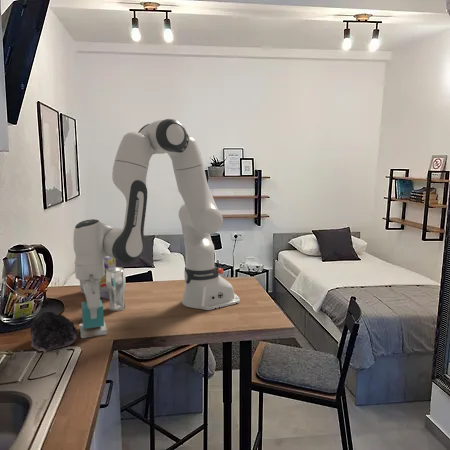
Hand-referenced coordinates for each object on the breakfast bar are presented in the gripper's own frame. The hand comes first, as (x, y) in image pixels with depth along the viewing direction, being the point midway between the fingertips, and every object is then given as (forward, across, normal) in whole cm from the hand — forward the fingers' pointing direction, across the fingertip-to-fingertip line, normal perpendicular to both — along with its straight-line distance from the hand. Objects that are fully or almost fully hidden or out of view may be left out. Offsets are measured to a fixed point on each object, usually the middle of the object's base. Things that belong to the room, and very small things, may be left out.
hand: (92, 312), depth 132 cm
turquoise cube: (+4, 0, 0) cm, 4 cm away
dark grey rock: (+7, -4, +12) cm, 14 cm away
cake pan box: (+7, +36, -5) cm, 37 cm away
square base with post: (+6, 0, 0) cm, 6 cm away
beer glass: (+7, +18, -10) cm, 22 cm away
